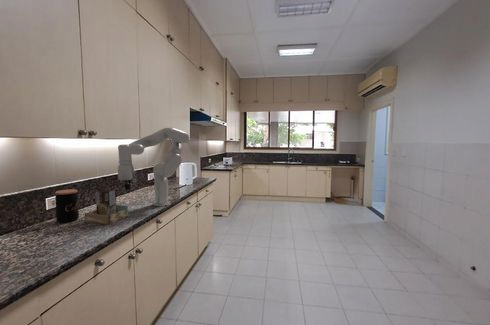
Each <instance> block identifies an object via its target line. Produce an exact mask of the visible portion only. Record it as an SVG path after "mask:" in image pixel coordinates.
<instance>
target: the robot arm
mask: <svg viewBox="0 0 490 325" xmlns="http://www.w3.org/2000/svg"><path fill="white" fill-rule="evenodd" d="M166 140H171V141H172V145H171V148H169V150H168V152H166V154H164V156H163V163H162V162H161V163H157V164H155V165H154V166H153V170H152V172H153V178H154V202H152V206H155V207H166V206H169V205H170V204H171V201H170V200H171V196H169V180H168V178H170V177H172V176H173V175H174V174H175V172H176V171H177V170H178V169H179V167H180V166H181V164H182V161H183V158H182V155H181V154H182V152H183V144H187V143H189V141H190V135H189V134H188V133H187V132H185V131H183V130H179V129H176V128H174V127H164V128H161V129H159V130H157V131H155V132H154V133H152V134H150V135H147V136H144V137H142V138H140V139H137V140H135V141H133V142H131V143H129V144H119V145H118V147H117V149H118V150H117V151H118V160H119V161H118V167H117V178H118V180H119V181H120V182H123V184H124V189H125V191H127V190H131V184H132V182H134V181H135V178H136V177H135V176H136V172H135V168H134V165H133V159H132V156H133V155H134V156H135V155H137V156H138V155H142V154H143V153H144V152H145V149H146V148H150V147H151V148H152V147H155V146H158V145H159V144H161V143H163V142H165V141H166ZM165 205H166V206H165Z"/></svg>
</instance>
